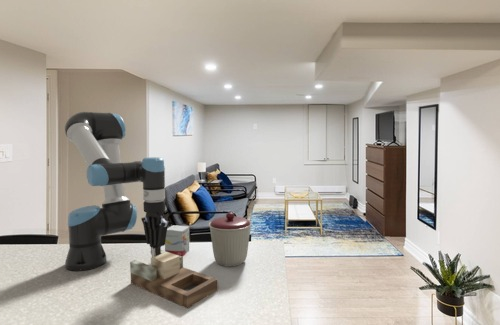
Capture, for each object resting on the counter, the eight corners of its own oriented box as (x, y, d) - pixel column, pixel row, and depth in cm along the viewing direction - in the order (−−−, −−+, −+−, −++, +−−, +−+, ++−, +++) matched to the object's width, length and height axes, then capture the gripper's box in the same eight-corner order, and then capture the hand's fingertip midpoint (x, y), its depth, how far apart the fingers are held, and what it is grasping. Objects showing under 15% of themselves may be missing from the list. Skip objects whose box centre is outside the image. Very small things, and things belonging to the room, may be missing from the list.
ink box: (182, 257, 137) (181, 230, 136) (164, 255, 138) (163, 229, 137) (190, 250, 145) (189, 225, 144) (173, 249, 147) (172, 224, 146)
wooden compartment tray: (130, 283, 112) (130, 261, 111) (162, 269, 123) (161, 250, 123) (187, 308, 95) (186, 283, 95) (217, 290, 107) (217, 267, 106)
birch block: (151, 274, 110) (150, 257, 110) (167, 267, 116) (166, 251, 115) (164, 279, 106) (163, 262, 106) (179, 272, 112) (179, 255, 111)
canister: (255, 255, 139) (255, 208, 137) (246, 272, 121) (246, 219, 119) (216, 252, 142) (216, 206, 141) (202, 268, 125) (201, 216, 123)
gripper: (134, 200, 113) (136, 263, 115) (157, 204, 105) (159, 271, 107) (151, 196, 119) (153, 257, 121) (174, 200, 112) (176, 264, 113)
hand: (156, 263), depth 114 cm, fingers closed
